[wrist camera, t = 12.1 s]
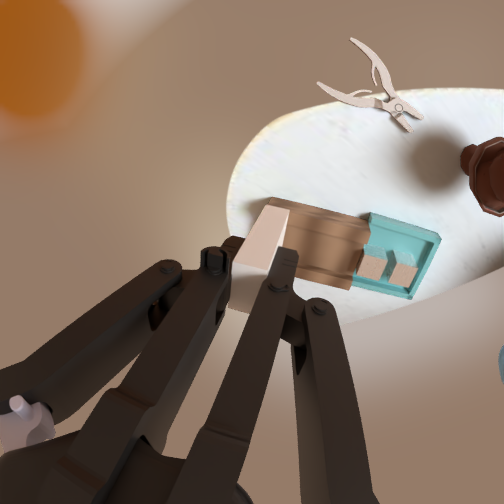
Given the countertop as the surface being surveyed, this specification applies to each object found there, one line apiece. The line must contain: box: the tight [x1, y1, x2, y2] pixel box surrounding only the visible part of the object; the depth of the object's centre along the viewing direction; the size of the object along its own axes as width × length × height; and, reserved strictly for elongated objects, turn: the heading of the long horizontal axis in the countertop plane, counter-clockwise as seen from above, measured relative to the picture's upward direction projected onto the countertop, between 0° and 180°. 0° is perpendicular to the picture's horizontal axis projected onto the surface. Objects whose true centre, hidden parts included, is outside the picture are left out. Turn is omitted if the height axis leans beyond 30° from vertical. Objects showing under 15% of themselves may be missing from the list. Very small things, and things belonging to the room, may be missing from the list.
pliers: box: [316, 37, 424, 133], centre depth 31 cm, size 10×2×15 cm
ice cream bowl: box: [461, 137, 504, 217], centre depth 25 cm, size 11×11×15 cm
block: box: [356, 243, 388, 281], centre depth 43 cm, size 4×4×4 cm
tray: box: [351, 213, 442, 300], centre depth 43 cm, size 13×13×2 cm
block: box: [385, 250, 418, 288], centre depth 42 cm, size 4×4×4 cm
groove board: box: [268, 197, 371, 290], centre depth 45 cm, size 16×11×4 cm
